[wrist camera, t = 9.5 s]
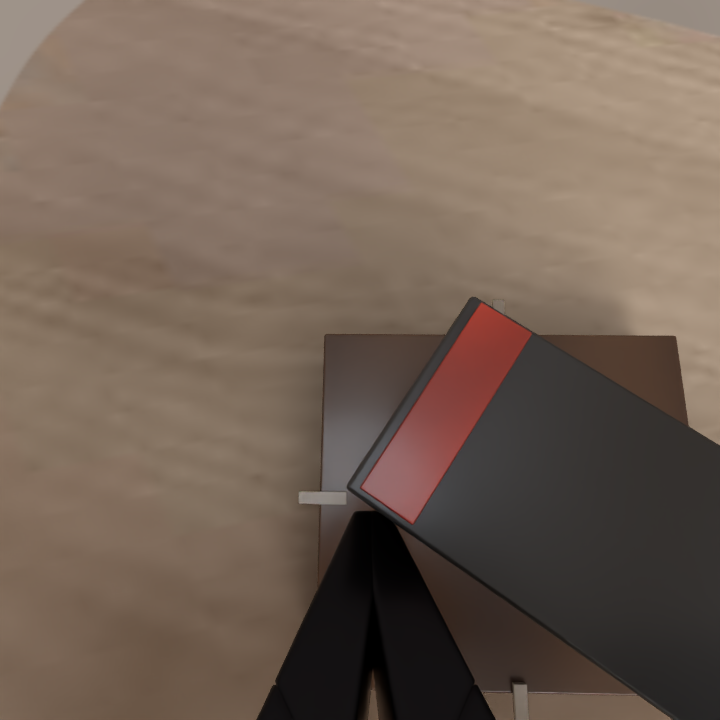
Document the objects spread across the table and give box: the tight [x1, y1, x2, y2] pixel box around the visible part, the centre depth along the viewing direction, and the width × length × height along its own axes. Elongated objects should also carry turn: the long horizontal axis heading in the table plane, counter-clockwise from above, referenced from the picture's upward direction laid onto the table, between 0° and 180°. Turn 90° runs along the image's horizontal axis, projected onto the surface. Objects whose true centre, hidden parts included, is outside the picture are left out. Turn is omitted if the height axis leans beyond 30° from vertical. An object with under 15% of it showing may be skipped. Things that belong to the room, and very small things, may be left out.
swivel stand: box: [298, 300, 689, 720], centre depth 15 cm, size 12×12×2 cm
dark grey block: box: [346, 297, 720, 720], centre depth 11 cm, size 8×4×7 cm, turn 56°
